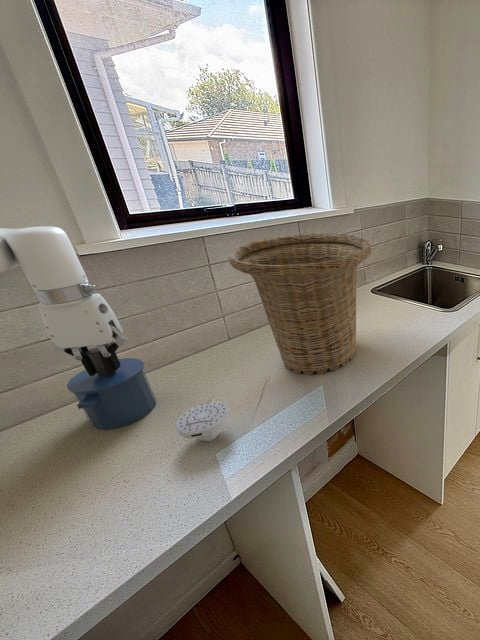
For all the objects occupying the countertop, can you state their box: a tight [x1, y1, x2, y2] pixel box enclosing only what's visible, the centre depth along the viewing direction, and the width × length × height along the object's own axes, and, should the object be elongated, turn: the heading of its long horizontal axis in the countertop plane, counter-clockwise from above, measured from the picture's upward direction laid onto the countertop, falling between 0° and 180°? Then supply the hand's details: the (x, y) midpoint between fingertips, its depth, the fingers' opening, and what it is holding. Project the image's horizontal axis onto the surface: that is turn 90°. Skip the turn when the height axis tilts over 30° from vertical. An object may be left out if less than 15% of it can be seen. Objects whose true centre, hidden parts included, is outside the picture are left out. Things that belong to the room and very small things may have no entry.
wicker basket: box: [227, 232, 372, 376], centre depth 94 cm, size 35×35×33 cm
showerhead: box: [175, 397, 232, 442], centre depth 70 cm, size 9×7×10 cm
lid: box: [66, 346, 145, 394], centre depth 72 cm, size 13×13×7 cm
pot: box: [73, 369, 157, 431], centre depth 76 cm, size 12×17×10 cm
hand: (105, 370), depth 73 cm, fingers closed on lid, 2 cm apart
